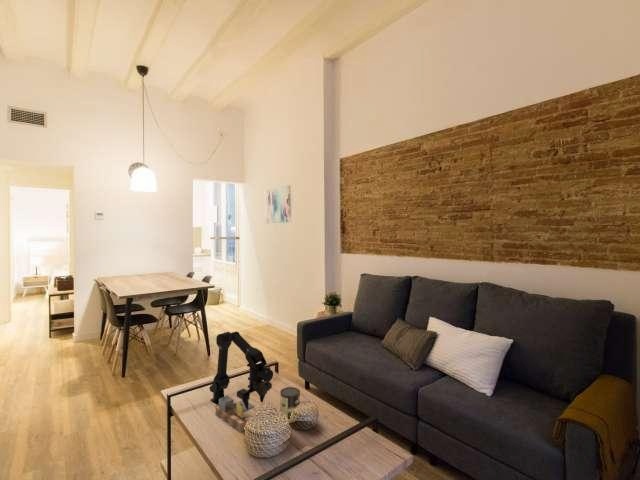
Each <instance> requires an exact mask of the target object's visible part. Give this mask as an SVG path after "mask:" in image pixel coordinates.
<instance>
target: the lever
mask: <svg viewBox="0 0 640 480" xmlns="http://www.w3.org/2000/svg"><path fill="white" fill-rule="evenodd" d="M236 403H237V402H236ZM235 414H236V415H238V416H239V417H241V418H243V417H244V416H243V414H244V412H243V405H242V404H240V403H239V401H238V403H237V410H236V413H235Z"/></svg>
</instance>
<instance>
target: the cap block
mask: <svg viewBox="0 0 640 480" xmlns="http://www.w3.org/2000/svg"><path fill="white" fill-rule="evenodd" d="M234 400H235V399H234V398H232V397H230V396H229V395H224V397H222V398H220V399H219V403H218V406H219V409H221V410H222V411H224V412H227V411H230V410H232V409H234V404H235V403H234Z"/></svg>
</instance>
